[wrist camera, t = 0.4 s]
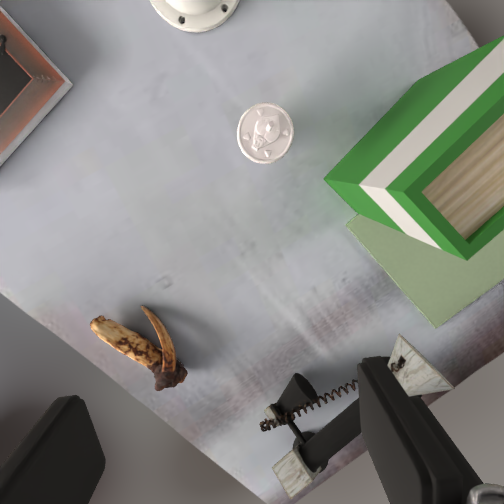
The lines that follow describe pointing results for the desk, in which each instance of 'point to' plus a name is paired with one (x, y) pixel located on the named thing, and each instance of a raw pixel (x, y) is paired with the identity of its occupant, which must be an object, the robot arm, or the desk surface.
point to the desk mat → (431, 268)
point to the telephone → (347, 422)
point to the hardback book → (436, 158)
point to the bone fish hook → (144, 348)
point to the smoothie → (265, 133)
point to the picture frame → (24, 85)
